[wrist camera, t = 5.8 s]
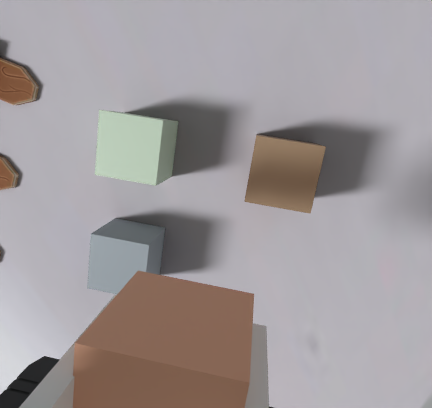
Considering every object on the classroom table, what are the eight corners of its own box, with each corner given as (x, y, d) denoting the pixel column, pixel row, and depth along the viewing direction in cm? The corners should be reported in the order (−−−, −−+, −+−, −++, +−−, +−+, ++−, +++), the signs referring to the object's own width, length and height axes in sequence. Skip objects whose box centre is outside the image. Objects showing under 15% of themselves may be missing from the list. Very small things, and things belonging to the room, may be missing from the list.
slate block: (115, 217, 33) (90, 233, 28) (165, 227, 32) (149, 245, 27) (111, 265, 34) (87, 288, 29) (159, 274, 33) (142, 299, 29)
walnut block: (256, 133, 29) (256, 135, 24) (314, 143, 29) (325, 146, 24) (246, 189, 30) (244, 201, 26) (302, 199, 30) (310, 213, 25)
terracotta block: (137, 270, 14) (75, 343, 10) (254, 294, 14) (249, 382, 9) (127, 369, 16) (67, 478, 11) (234, 394, 15) (221, 520, 10)
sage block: (124, 112, 30) (99, 110, 25) (178, 121, 30) (163, 120, 25) (120, 167, 31) (94, 174, 27) (171, 176, 31) (155, 185, 26)
